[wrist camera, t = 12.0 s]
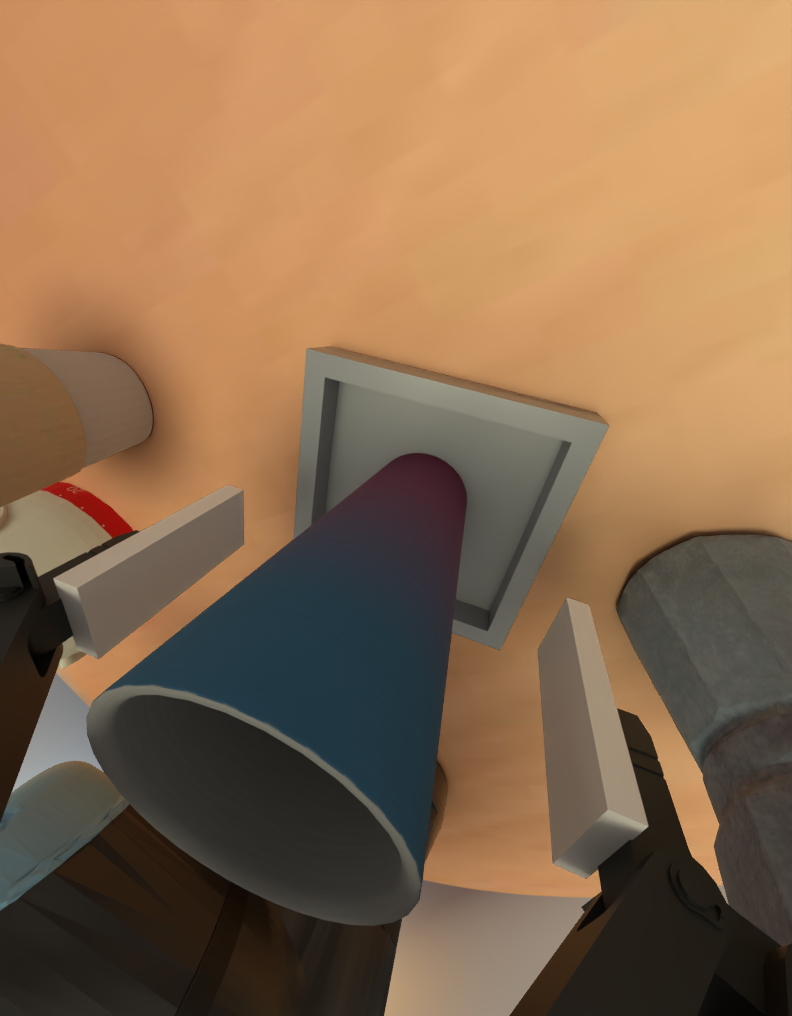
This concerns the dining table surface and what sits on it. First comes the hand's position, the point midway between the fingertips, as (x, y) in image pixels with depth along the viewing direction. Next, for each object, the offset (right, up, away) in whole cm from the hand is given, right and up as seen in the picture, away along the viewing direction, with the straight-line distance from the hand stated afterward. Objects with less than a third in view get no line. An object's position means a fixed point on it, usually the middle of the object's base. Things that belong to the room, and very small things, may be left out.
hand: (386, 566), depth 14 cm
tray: (+2, +3, +6) cm, 7 cm away
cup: (+2, +3, +5) cm, 6 cm away
